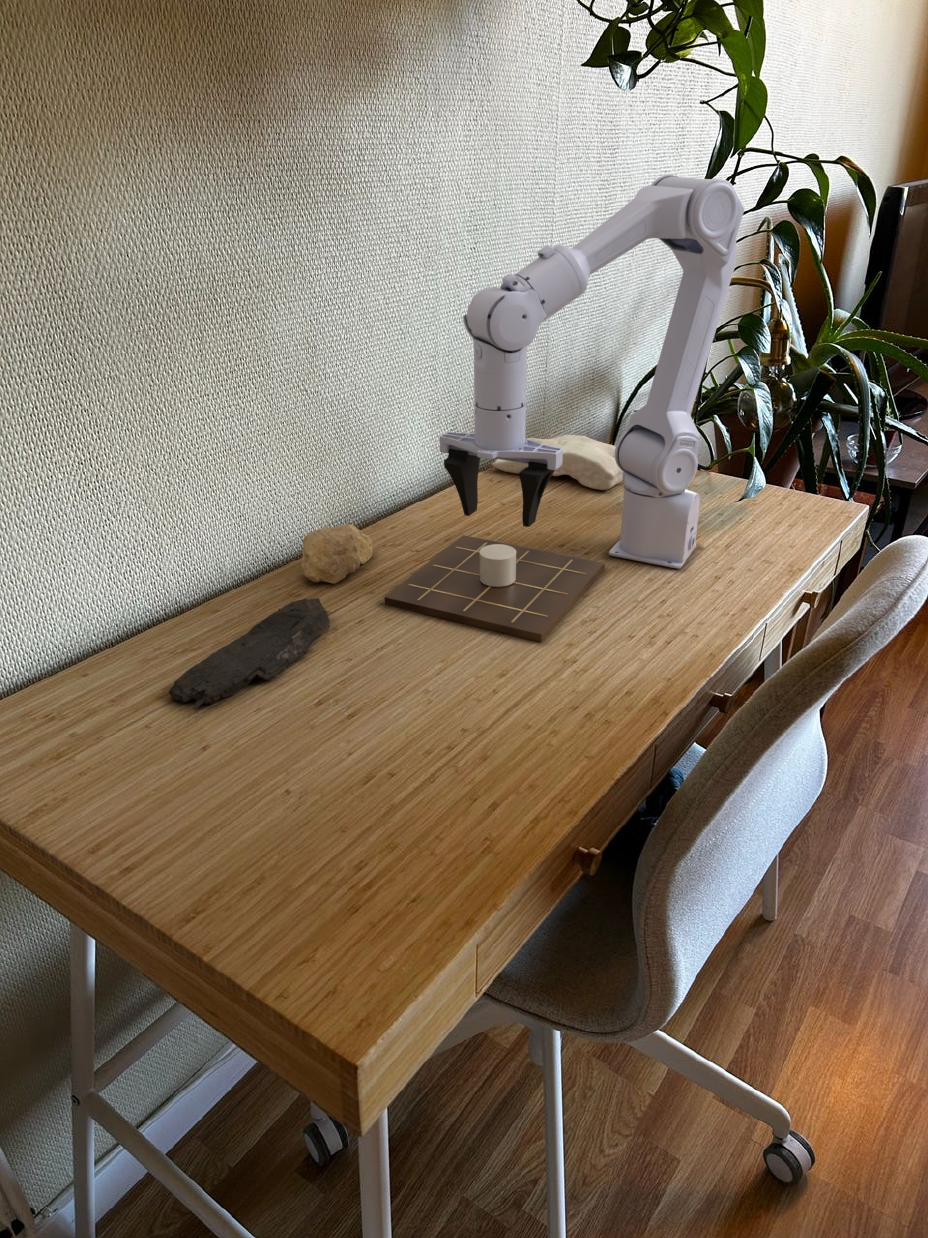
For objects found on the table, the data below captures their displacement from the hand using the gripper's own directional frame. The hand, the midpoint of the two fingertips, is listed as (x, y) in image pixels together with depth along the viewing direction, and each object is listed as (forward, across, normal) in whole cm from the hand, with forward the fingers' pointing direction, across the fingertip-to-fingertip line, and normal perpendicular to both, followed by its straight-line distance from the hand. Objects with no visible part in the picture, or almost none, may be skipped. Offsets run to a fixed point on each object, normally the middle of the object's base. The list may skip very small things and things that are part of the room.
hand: (499, 518), depth 107 cm
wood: (+9, -15, -27) cm, 32 cm away
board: (+9, 0, -1) cm, 9 cm away
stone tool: (+9, -20, -5) cm, 23 cm away
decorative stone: (+9, -8, +42) cm, 44 cm away
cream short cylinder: (+8, 0, -1) cm, 8 cm away
